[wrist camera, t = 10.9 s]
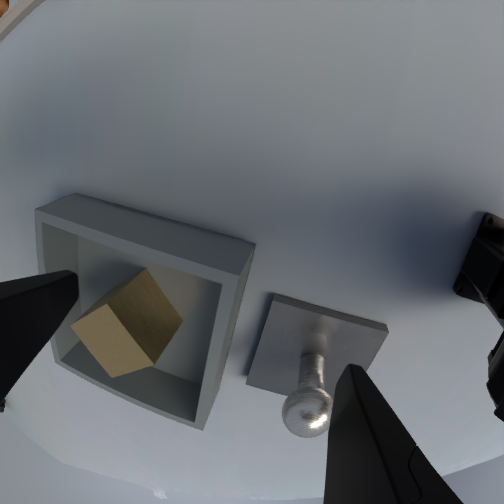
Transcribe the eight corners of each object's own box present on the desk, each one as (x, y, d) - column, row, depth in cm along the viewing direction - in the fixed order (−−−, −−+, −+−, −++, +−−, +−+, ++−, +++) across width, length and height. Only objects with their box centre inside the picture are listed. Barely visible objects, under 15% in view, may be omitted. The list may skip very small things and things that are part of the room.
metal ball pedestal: (386, 324, 22) (405, 401, 15) (342, 400, 26) (341, 472, 18) (274, 293, 23) (254, 367, 16) (247, 376, 27) (225, 448, 19)
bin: (255, 244, 22) (239, 276, 17) (218, 391, 28) (202, 430, 24) (76, 193, 23) (34, 209, 19) (82, 335, 29) (55, 362, 25)
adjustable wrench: (-30, 82, 22) (-41, 83, 20) (-29, 41, 19) (-38, 41, 18) (120, -32, 15) (109, -39, 14) (120, -75, 13) (110, -82, 12)
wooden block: (146, 267, 24) (106, 303, 18) (183, 320, 25) (154, 364, 20) (107, 291, 25) (69, 325, 20) (142, 338, 27) (111, 377, 21)
